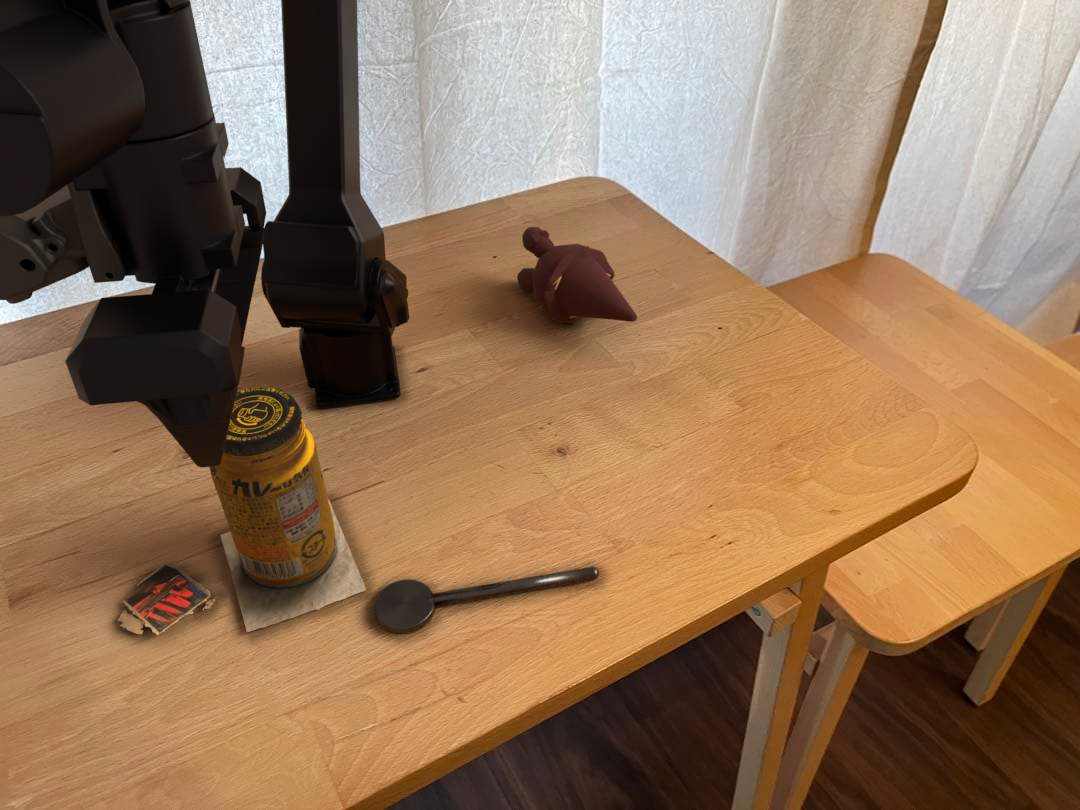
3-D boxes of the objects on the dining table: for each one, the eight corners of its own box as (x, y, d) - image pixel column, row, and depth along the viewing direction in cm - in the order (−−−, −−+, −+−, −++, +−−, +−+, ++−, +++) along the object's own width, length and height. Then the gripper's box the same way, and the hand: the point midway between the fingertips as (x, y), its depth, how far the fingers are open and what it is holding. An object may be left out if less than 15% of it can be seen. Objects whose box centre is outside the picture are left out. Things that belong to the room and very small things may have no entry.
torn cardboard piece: (160, 563, 56) (158, 559, 56) (225, 591, 54) (223, 586, 54) (105, 620, 53) (103, 615, 52) (172, 650, 51) (170, 646, 51)
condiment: (329, 501, 60) (297, 363, 52) (367, 591, 54) (337, 451, 47) (221, 537, 58) (170, 397, 50) (248, 635, 52) (195, 495, 44)
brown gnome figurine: (677, 272, 70) (560, 214, 80) (609, 281, 66) (494, 219, 76) (659, 350, 73) (549, 286, 83) (592, 364, 69) (485, 294, 79)
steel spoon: (591, 554, 57) (592, 546, 56) (606, 599, 54) (606, 591, 53) (373, 590, 54) (372, 582, 54) (377, 639, 52) (376, 630, 51)
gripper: (10, 69, 44) (99, 334, 54) (-157, 223, 29) (6, 553, 39) (239, 60, 46) (287, 318, 55) (189, 201, 31) (267, 523, 40)
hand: (219, 410), depth 47 cm, fingers open, 9 cm apart
